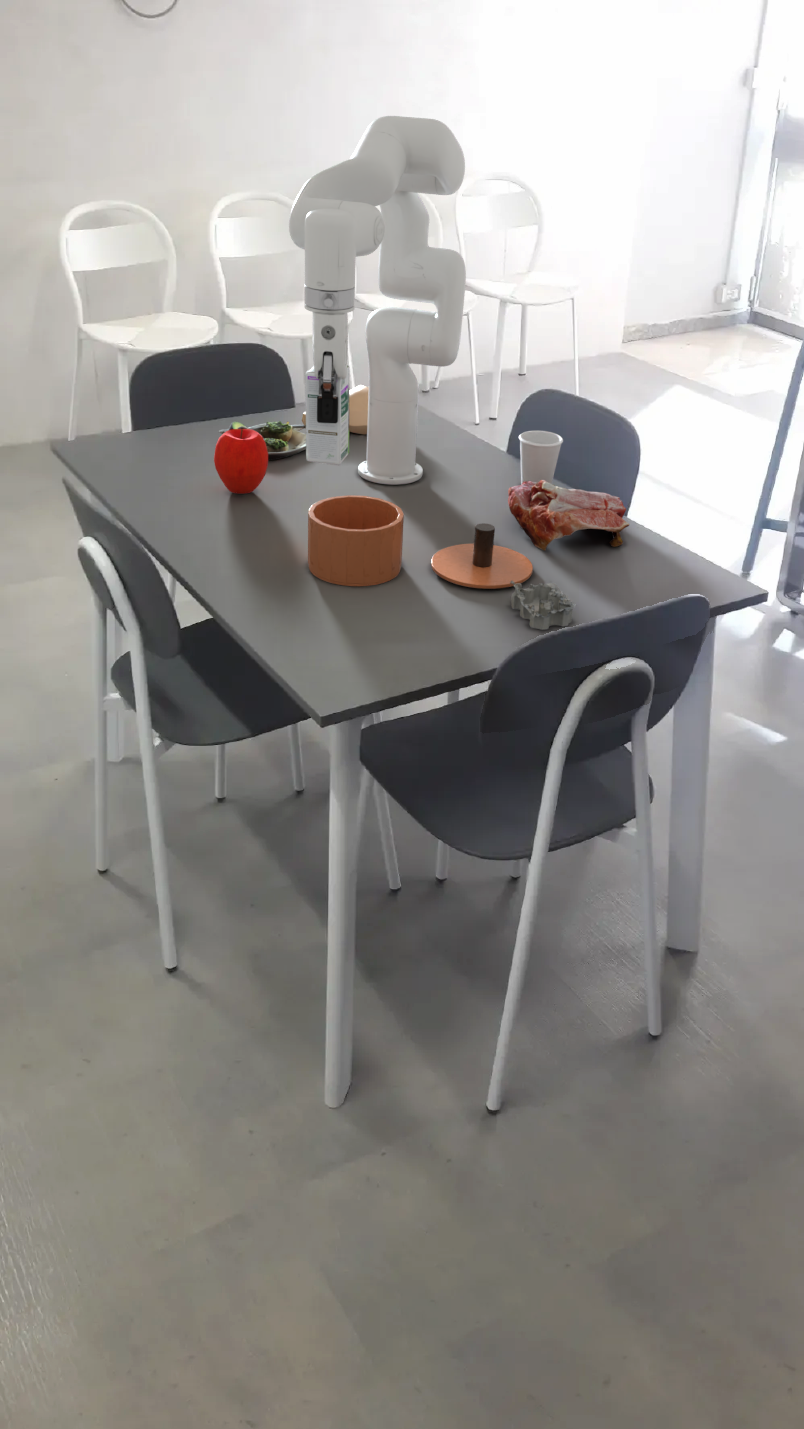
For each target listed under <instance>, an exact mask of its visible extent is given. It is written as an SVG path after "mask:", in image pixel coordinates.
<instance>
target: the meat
mask: <svg viewBox="0 0 804 1429" xmlns="http://www.w3.org/2000/svg"><path fill="white" fill-rule="evenodd" d="M507 494H508V498H507V503H508V504H507V505H508V507H509V511H510V513H511V515H512V516H513V518H514V519H515V520H516V522H517V524H518V525H519V526H520V528H521V529H522V530H523V532H524V533H525V535H526V536H527V537H528V538H529V539H530V541H531V542H532V544H533V545H534V547H536V548H538V549H540V550H542V551H543V552H544V551H546V550H547V547H548V545H549V544H550V543H551V542H552V541H553V540H556V539H561V538H564V537H565V536H572V534H573V533H575V532H577V531H581V530H587V529H588V530H589V529H591V530H604V531H607V532H611V536H612V537H613V538H611V540H610V541H609V542H608V544H609V545H610V546H611V547H613V548H615V547H619V546H622V545H623V544H624V541H623V539H622V535H621V533H622V531H623V530H624V529H627V528H628V527H630V523H628V522H627V521H626V520H625V519H624V516H625V513H626V511H627V508H626V507H625V506H624V502H623V500H621V498H620V497H619V496H615V495H611V494H609V493H607V492H599V491H587V490H584V489H578V488H576V489H575V488H566V487H561V486H557V485H555V484H553V483H552V484H551V483H549V482H546V481H545V480H540V481H539V482H538V483H535V482H531V481H528V482H527V481H525V482H524V481H523V483H522V485H521V484H519V485H514V486H510V487H509V488H508V490H507Z"/></svg>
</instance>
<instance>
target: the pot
mask: <svg viewBox="0 0 804 1429" xmlns="http://www.w3.org/2000/svg"><path fill="white" fill-rule="evenodd" d="M404 519H405V514H404V512H403V510H402V508H401V507H399V506H398V505H397V504H395V503H393V502H391V501H389V500H385V499H383V498H380V497H374V496H368V495H355V494H353V495H352V494H350V495H348V494H347V495H339V496H330V497H327V498H324V499H320V500H318V501H316V502H315V503H313V504H312V505H311V506H310V507H309V509H308V511H307V565H308V569H309V571H310V573H311V574H312V575H313V576H315V578H318V579H319V580H321V581H323V582H327V583H329V584H333V585H339V586H344V587H369V586H376V585H381V584H384V583H387V582H390V581H391V580H393V579H395V578H397V577H398V575H399V574H400V572H401V568H402V560H403V540H404Z"/></svg>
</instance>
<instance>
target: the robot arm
mask: <svg viewBox="0 0 804 1429" xmlns="http://www.w3.org/2000/svg"><path fill="white" fill-rule="evenodd" d="M465 172H466V160H465V154H464V151H463V149H462V146H461V144H460V142H459V141H458V139H457V138H456V136H455V134H454V133H453V131H452V130H451V129H450V128H449V126H448V125H446V124H445V123H444V122H442V121H440V120H438V119H436V118H435V119H434V118H428V117H427V118H426V117H411V116H400V115H384V116H380V117H377V118H375V119H374V120H372V122H370V124H368V126H367V127H366V130H365V131H364V133H363V135H362V136H361V138H360V140H359V142H358V144H357V146H356V148H355V150H354V152H353V153H352V155H351V156H350V158H348V159H346V160H343V161H341V162H339V163H336V164H334V165H332V166H330V167H328V168H325V169H323V170H320V171H319V172H317V173H315V174H313V175H312V176H311V177H310V178H309V179H308V180H307V181H305V183H304V184H303V186H302V187H301V189H300V191H299V193H298V194H297V196H296V198H295V200H294V202H293V205H292V208H291V210H290V213H289V219H288V232H289V236H290V238H291V241H292V242H293V244H295V245H296V247H298V248H300V249H301V250H304V309H305V310H307V311H308V312H311V314H312V317H311V318H312V319H311V320H312V322H311V323H312V327H311V328H312V330H311V331H312V360H313V366H314V373H315V377H316V378H319V396H317V422H318V423H337V422H338V397H336V396H337V376H338V378H342V380H344V379H345V378H346V375H347V366H348V351H349V350H348V349H349V348H348V346H349V341H348V340H349V318H348V316H349V315H348V313H352V312H353V311H354V310H355V298H356V297H355V296H356V259H357V258H356V257H364V256H369V255H371V254H373V253H374V252H376V250H377V249H378V248H379V254H378V269H377V271H378V272H377V286H378V289H379V291H380V293H381V294H382V295H383V296H385V297H387V298H389V299H394V300H399V301H406V302H415V303H425V304H433V305H434V306H435V308H436V311H432V310H422V309H417V308H407V307H397V306H387V307H386V306H385V307H380V308H377V309H375V310H373V311H372V312H371V313H370V314H369V315H368V317H367V320H366V323H365V331H364V334H365V335H364V336H365V345H366V352H367V362H368V387H369V394H368V426H367V434H366V457H365V458H366V460H363V461H362V462H360V464H359V465H358V467H357V473H358V475H359V476H360V477H361V478H362V479H363V480H366V481H368V482H372V483H374V484H375V483H376V484H381V485H392V486H393V485H395V486H396V485H398V486H399V485H407V484H411V483H414V482H417V481H419V480H420V479H422V477H423V474H424V470H423V467H422V466H421V465H420V464H419V463H418V462H416V457H417V456H416V455H417V439H418V438H417V437H418V420H419V419H418V418H419V417H418V416H419V398H420V386H419V380H418V378H417V375H416V373H415V372H414V370H413V369H412V367H411V365H410V364H412V365H422V366H431V367H440V368H441V367H444V368H445V367H449V366H451V365H453V364H454V363H455V362H456V360H457V358H458V355H459V351H460V345H461V336H462V327H463V315H464V305H465V296H466V294H465V293H466V285H467V284H466V282H467V281H466V280H467V269H466V262H465V260H464V258H463V256H462V254H460V252H458V251H457V250H454V249H451V248H443V247H434V246H433V247H432V246H429V229H430V228H429V227H430V215H429V211H428V209H427V207H426V205H425V203H424V201H423V200H422V198H421V197H420V195H419V194H425V195H436V196H437V195H438V196H451V195H453V194H455V193H457V192H458V190H459V189H460V188H461V186H462V184H463V182H464V178H465ZM378 206H379V208H377V207H378ZM318 371H319V372H318ZM334 372H335V377H331V375H332V373H334ZM322 373H323V376H322ZM318 376H319V377H318ZM322 381H323V383H322ZM331 382H333V384H331Z"/></svg>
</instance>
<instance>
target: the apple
mask: <svg viewBox="0 0 804 1429" xmlns="http://www.w3.org/2000/svg"><path fill="white" fill-rule="evenodd" d="M213 463H214V467H215V470H216V472H217V475H218V477H219V479H220V480H221V482H222V483H223V485H224V486H225V488H226V489H227V490H228V491H229V492H230V493H232V494H236V495H239V494H240V495H243V494H244V495H245V494H250V493H252V492H254V491H255V490H256V489H257V488H258V487H259V486H260V485H261V483H262V482H263V480H264V478H265V476H266V473H267V470H268V466H269V460H268V451H267V447H266V443H265V441H264V439H263V437H262V436H261V435H260V434H259V433H258V432H256V431H254V430H251V429H231V430H228V431H226V432H225V433H224V434H223V435H222V434H221V435H220V436H219V437H218V439H217V441H216V443H215V448H214V455H213Z"/></svg>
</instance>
